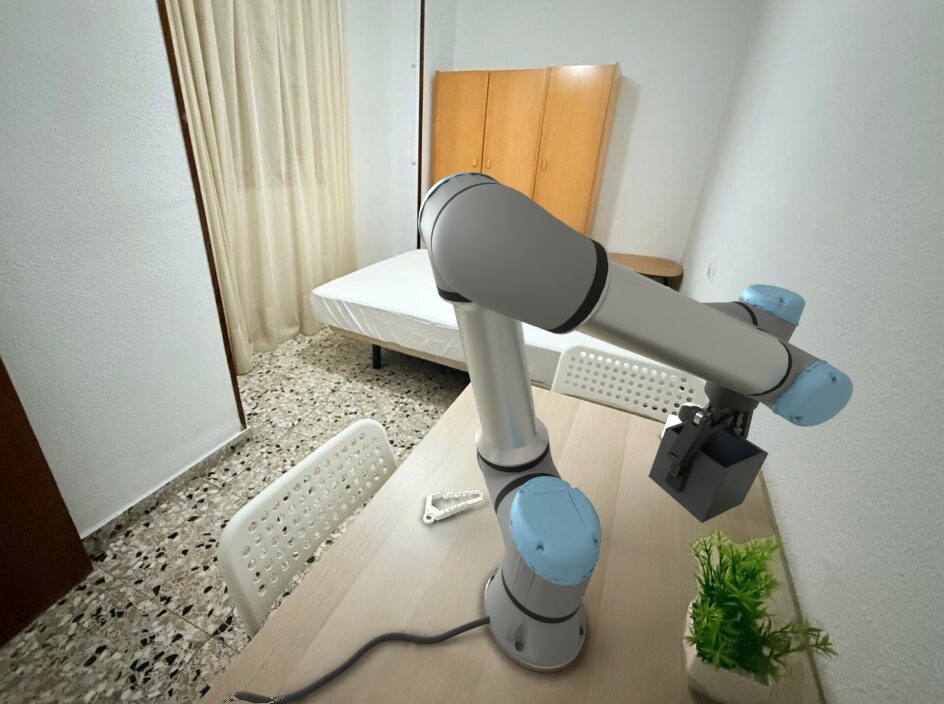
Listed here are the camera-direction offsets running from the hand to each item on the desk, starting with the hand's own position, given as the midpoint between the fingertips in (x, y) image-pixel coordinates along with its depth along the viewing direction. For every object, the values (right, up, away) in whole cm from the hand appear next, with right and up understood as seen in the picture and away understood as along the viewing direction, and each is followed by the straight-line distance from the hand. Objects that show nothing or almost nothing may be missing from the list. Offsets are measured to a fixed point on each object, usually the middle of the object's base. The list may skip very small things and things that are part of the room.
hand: (694, 477), depth 75 cm
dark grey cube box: (+3, +1, -7) cm, 7 cm away
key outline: (-45, -8, +6) cm, 46 cm away
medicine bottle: (+11, -2, +22) cm, 25 cm away
